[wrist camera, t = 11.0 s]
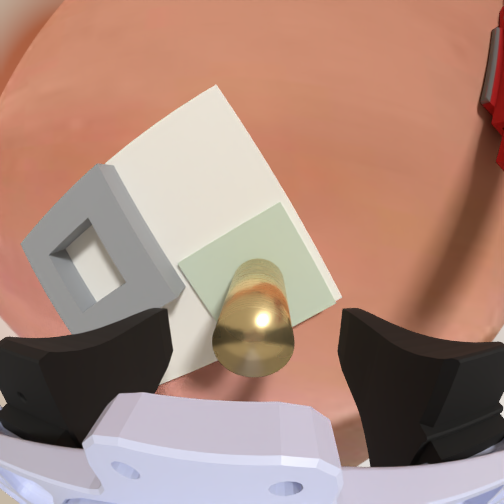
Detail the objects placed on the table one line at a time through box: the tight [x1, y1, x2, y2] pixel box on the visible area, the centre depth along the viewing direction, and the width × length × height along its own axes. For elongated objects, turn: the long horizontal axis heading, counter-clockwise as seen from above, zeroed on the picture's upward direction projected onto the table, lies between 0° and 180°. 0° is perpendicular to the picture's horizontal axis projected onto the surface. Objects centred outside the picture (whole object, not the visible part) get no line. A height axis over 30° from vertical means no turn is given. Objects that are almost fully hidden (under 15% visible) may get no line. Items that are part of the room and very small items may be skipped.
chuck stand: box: [21, 85, 342, 385], centre depth 17 cm, size 15×17×3 cm
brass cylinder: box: [212, 258, 294, 377], centre depth 13 cm, size 3×3×7 cm
